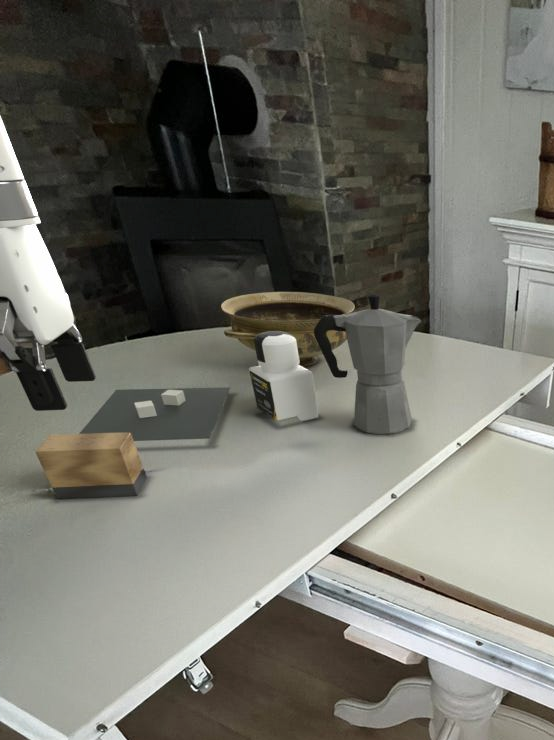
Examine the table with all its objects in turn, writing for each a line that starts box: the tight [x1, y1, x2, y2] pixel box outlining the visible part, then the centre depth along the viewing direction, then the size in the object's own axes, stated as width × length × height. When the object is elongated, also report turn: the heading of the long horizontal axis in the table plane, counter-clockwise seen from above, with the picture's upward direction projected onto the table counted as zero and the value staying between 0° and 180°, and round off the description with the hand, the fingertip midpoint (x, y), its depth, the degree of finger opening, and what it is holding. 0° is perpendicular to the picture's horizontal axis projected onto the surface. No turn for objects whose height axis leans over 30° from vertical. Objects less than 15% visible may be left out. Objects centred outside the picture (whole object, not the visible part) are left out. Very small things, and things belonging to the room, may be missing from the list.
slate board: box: [78, 386, 231, 442], centre depth 90 cm, size 18×22×1 cm
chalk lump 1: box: [134, 401, 157, 418], centre depth 88 cm, size 2×2×2 cm
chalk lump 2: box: [161, 390, 186, 406], centre depth 93 cm, size 2×2×2 cm
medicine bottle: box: [248, 331, 319, 422], centre depth 90 cm, size 7×7×12 cm
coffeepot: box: [314, 293, 422, 435], centre depth 87 cm, size 15×9×18 cm, turn 110°
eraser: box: [34, 432, 148, 500], centre depth 71 cm, size 9×5×6 cm, turn 100°
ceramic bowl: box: [220, 291, 356, 367], centre depth 113 cm, size 30×24×10 cm
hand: (67, 394), depth 66 cm, fingers open, 9 cm apart
